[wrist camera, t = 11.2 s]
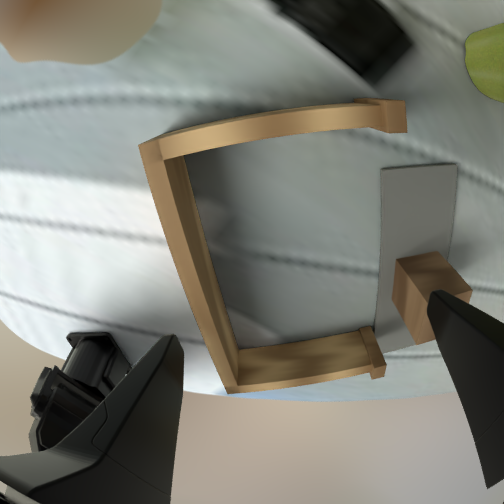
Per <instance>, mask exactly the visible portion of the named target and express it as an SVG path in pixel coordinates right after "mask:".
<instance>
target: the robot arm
mask: <svg viewBox="0 0 504 504" xmlns="http://www.w3.org/2000/svg"><path fill="white" fill-rule="evenodd" d="M427 316H428V318H429V321H430V324H431V327H432V330H433V332H434V335H435V338H436V341H437V344H438V347H439V350H440V352H441V354H442V357H443V359H444V361H445V363H446V366H447V368H448V370H449V373H450V375H451V378H452V380H453V383H454V385H455V388H456V390H457V392H458V395H459V398H460V400H461V403H462V406H463V409H464V411H465V414H466V417H467V420H468V423H469V426H470V429H471V432H472V435H473V438H474V442H475V445H476V449H477V452H478V455H479V459H480V463H481V466H482V471H483V475H484V479H485V483H486V487H487V489H488V488H490V487H492V486H493V485H495V484H497V483H498V482H500V481H501V480H503V479H504V323H502V322H500V321H499V320H497V319H495V318H493V317H492V316H490V315H488V314H486V313H485V312H483V311H481V310H479V309H477V308H476V307H474V306H472V305H470V304H468V303H467V302H465V301H463V300H461V299H459V298H457V297H455V296H454V295H452V294H450V293H448V292H446V291H444V290H442V289H438V290H434V291H432V292H431V293H430V296H429V301H428V305H427ZM66 339H67V340H68V342H69V343H70V345H71V346H72V347H73V348H72V350H71V352H70V353H69V355H68V357H67V359H66V361H65V363H64V365H63V367H62V369H61V370H60V369H59V368H58V367H57V366H56V365H55V366H54V367H53V368H52V369H51V368H48V367H44V369H43V371H42V373H41V375H40V377H39V378H38V380H37V383H36V385H35V388H34V389H33V392H32V394H31V397H30V399H31V402H32V406H31V407H32V410H31V416H33V417H34V418H35V420H34V422H33V424H32V427H31V430H30V432H29V440H30V445H31V450H32V453H27V454H20V455H13V456H0V481H2V482H3V483H5V484H6V485H7V489H6V492H5V494H3V493H1V492H0V504H170V501H171V497H170V496H171V487H172V478H173V469H174V460H175V451H176V443H177V434H178V426H179V418H180V411H181V404H182V397H183V376H184V351H183V348H182V346H181V344H180V342H179V340H178V338H177V336H176V335H175V334H166V335H163V336H162V337H161V338H160V339H159V340H158V341H157V342H156V344H155V345H154V346H153V347H152V348H151V349H150V350H149V351H148V352H147V353H146V354H145V355H144V357H143V358H142V359H141V360H140V361H139V362H138V363H137V364H136V365H135V366H134V367H133V368H132V367H131V366H130V364H129V363H128V361H127V360H126V358H125V357H124V355H123V354H122V352H121V351H120V349H119V348H118V346H117V344H116V343H115V341H114V340H113V338H112V336H111V335H110V334H108V333H87V334H68V335H67V337H66ZM126 374H127V375H126ZM125 375H126V376H125ZM52 389H53V390H52ZM503 504H504V502H503Z"/></svg>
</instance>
